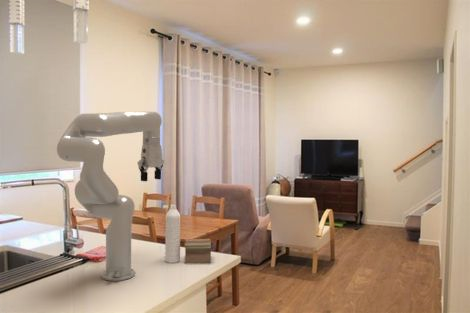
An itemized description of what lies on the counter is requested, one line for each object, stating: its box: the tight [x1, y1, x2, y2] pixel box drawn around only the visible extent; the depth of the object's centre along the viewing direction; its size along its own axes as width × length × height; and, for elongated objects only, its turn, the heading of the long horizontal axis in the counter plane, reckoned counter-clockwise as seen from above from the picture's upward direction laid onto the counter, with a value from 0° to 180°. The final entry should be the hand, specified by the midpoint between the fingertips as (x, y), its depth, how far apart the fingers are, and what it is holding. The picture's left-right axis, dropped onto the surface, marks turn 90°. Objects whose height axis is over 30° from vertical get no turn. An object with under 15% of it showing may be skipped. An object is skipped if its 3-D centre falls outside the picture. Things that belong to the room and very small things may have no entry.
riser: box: [184, 238, 212, 264], centre depth 172 cm, size 11×11×8 cm
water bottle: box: [162, 204, 181, 264], centre depth 168 cm, size 9×6×25 cm
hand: (151, 180), depth 170 cm, fingers open, 9 cm apart
